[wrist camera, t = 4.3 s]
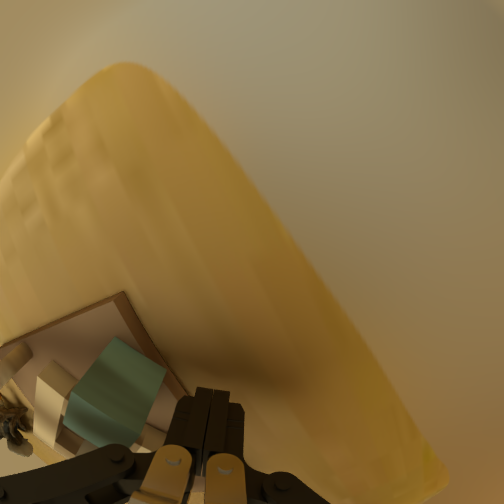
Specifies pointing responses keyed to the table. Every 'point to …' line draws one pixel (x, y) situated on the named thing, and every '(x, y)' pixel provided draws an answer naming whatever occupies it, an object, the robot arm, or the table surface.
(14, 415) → the brown squirrel figurine
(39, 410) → the square frame with handle
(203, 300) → the table surface
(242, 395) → the table surface
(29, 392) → the post board
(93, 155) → the table surface
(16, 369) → the dowel pin
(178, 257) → the table surface
